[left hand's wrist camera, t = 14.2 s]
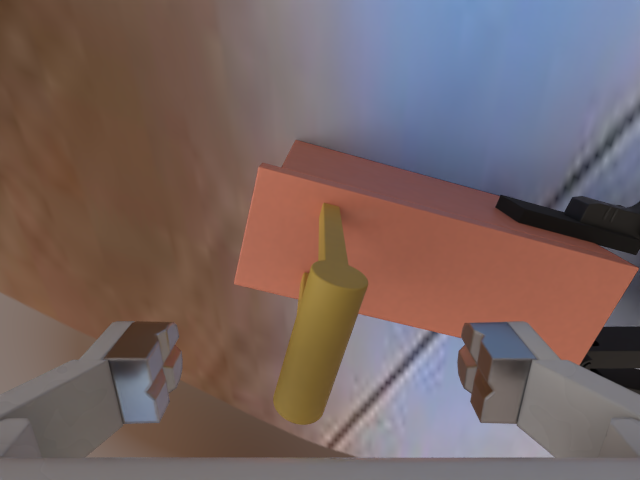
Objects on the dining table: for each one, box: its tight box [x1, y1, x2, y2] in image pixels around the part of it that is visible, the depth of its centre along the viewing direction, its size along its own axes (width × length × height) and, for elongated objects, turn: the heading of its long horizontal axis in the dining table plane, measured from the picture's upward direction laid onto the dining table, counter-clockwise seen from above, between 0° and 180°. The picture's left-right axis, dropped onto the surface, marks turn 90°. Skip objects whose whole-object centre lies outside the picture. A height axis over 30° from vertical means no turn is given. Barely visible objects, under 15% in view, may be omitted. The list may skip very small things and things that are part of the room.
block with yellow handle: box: [234, 163, 639, 425], centre depth 14 cm, size 17×5×8 cm, turn 75°
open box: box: [281, 140, 622, 259], centre depth 23 cm, size 16×5×10 cm, turn 75°
